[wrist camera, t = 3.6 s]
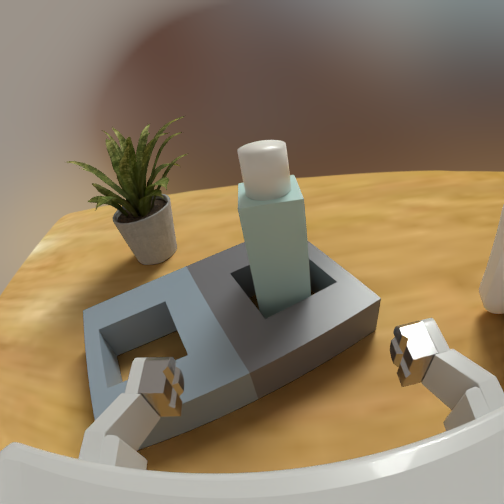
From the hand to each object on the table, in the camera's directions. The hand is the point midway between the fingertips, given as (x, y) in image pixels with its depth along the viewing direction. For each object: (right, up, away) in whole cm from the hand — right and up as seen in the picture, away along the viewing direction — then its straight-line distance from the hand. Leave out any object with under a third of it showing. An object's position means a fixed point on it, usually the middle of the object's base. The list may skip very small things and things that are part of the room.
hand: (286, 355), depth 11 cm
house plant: (-11, +4, +27) cm, 29 cm away
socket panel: (-4, -3, +14) cm, 15 cm away
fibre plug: (+2, -1, +16) cm, 16 cm away
